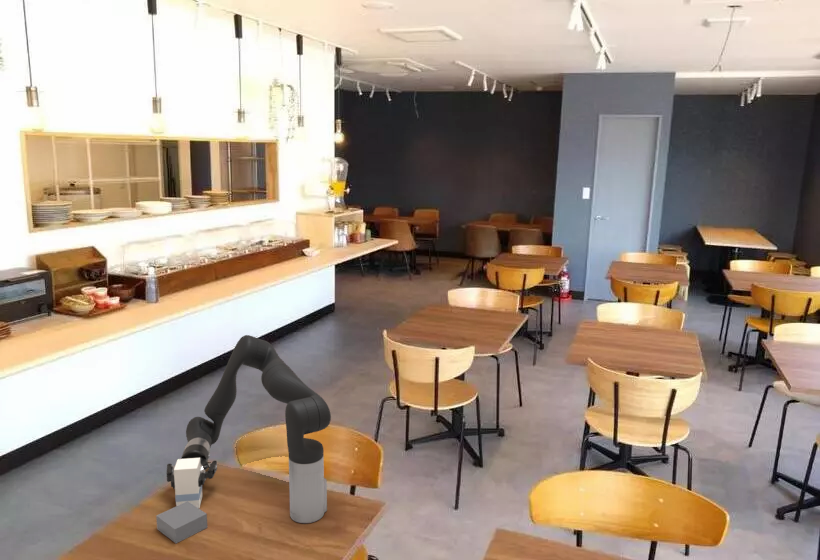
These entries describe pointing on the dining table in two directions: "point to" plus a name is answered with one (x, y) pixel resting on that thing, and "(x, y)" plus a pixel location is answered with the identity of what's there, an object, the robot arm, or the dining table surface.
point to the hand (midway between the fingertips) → (186, 484)
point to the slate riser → (181, 522)
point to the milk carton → (187, 481)
